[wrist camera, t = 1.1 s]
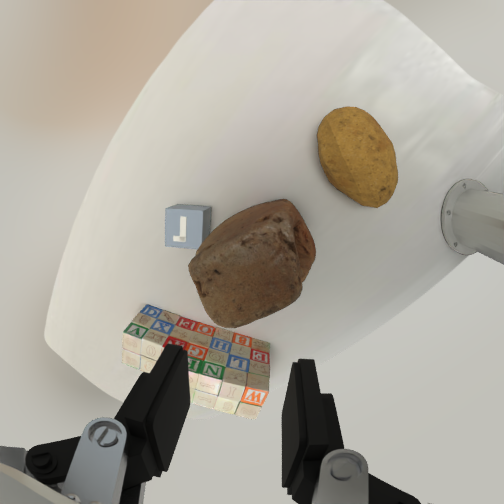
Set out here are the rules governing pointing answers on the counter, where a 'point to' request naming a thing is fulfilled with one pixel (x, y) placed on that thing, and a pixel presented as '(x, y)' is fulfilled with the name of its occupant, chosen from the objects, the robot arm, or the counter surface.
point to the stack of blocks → (203, 359)
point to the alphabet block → (187, 225)
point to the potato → (357, 156)
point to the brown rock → (253, 263)
